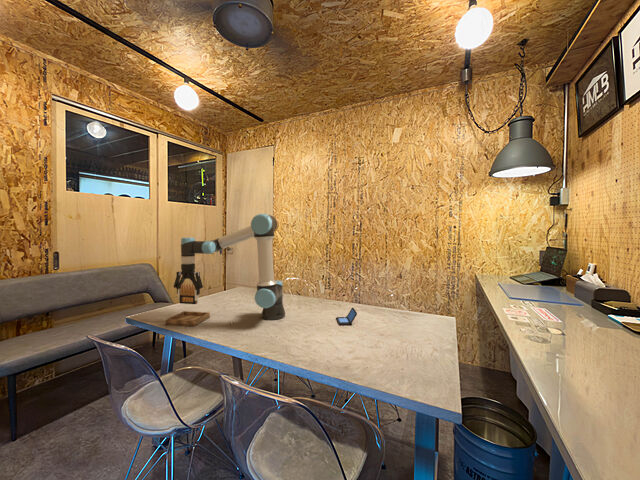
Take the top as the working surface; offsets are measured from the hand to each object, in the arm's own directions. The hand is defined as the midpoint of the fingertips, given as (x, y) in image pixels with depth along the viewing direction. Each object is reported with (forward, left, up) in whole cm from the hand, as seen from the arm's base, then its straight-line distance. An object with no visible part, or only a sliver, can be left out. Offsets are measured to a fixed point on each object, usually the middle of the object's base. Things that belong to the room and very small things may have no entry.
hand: (188, 299), depth 156 cm
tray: (0, 0, -13) cm, 13 cm away
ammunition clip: (0, 0, -3) cm, 3 cm away
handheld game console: (-95, -13, -14) cm, 97 cm away
